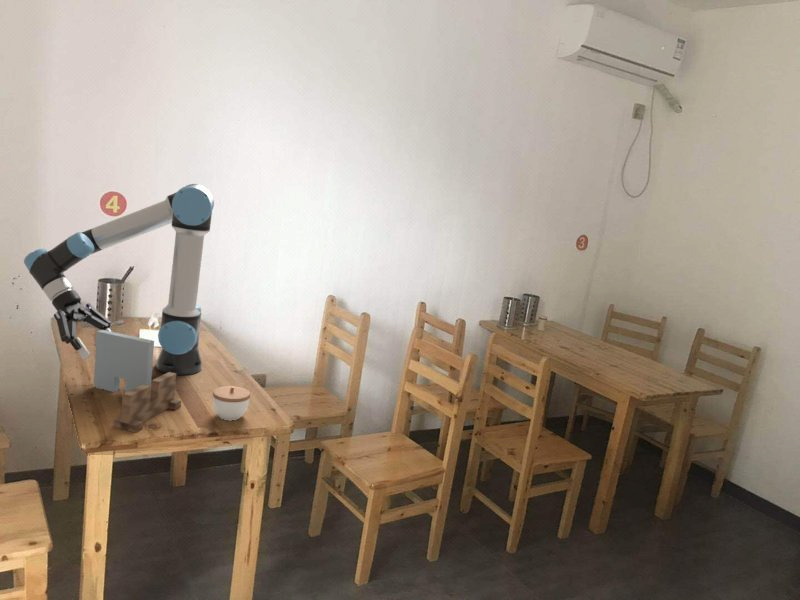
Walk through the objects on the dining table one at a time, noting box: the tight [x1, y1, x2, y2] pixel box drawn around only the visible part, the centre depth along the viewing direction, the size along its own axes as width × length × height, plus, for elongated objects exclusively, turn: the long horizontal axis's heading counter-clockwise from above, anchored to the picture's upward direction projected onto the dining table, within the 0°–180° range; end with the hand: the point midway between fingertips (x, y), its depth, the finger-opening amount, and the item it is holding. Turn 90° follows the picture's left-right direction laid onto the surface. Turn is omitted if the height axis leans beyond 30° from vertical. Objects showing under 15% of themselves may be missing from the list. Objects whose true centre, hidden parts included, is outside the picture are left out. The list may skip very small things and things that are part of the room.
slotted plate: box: [93, 329, 155, 393], centre depth 199 cm, size 18×2×18 cm, turn 77°
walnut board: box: [112, 372, 182, 433], centre depth 185 cm, size 22×7×10 cm, turn 167°
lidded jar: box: [212, 385, 251, 422], centre depth 193 cm, size 11×11×9 cm
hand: (102, 352), depth 199 cm, fingers open, 13 cm apart
